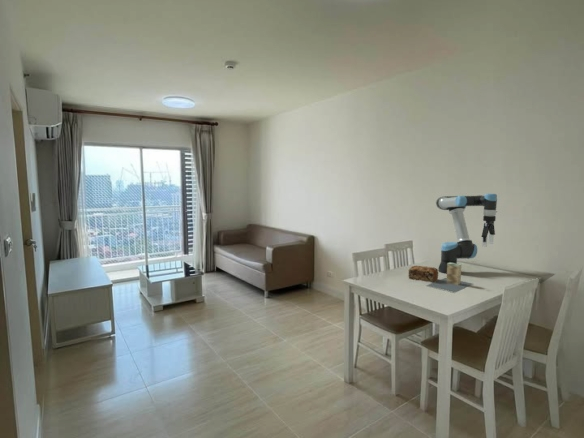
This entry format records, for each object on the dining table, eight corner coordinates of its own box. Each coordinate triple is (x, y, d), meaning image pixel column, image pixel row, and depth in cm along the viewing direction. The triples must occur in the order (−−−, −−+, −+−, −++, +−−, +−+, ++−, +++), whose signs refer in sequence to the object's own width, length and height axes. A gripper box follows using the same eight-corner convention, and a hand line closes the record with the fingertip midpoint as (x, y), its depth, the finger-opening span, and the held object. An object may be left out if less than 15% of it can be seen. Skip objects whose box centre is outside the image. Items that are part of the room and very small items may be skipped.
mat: (426, 286, 235) (426, 285, 235) (445, 278, 252) (445, 277, 252) (455, 293, 219) (455, 292, 219) (473, 284, 237) (473, 283, 237)
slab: (446, 282, 241) (447, 263, 239) (449, 281, 243) (449, 262, 242) (457, 285, 235) (458, 265, 233) (460, 283, 237) (461, 264, 236)
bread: (438, 280, 248) (438, 267, 247) (432, 283, 241) (432, 270, 240) (414, 275, 261) (414, 263, 260) (407, 278, 254) (407, 265, 253)
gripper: (489, 217, 227) (487, 248, 230) (500, 214, 244) (498, 243, 247) (477, 216, 233) (475, 246, 235) (489, 213, 250) (487, 241, 252)
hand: (487, 245), depth 241 cm, fingers open, 13 cm apart
